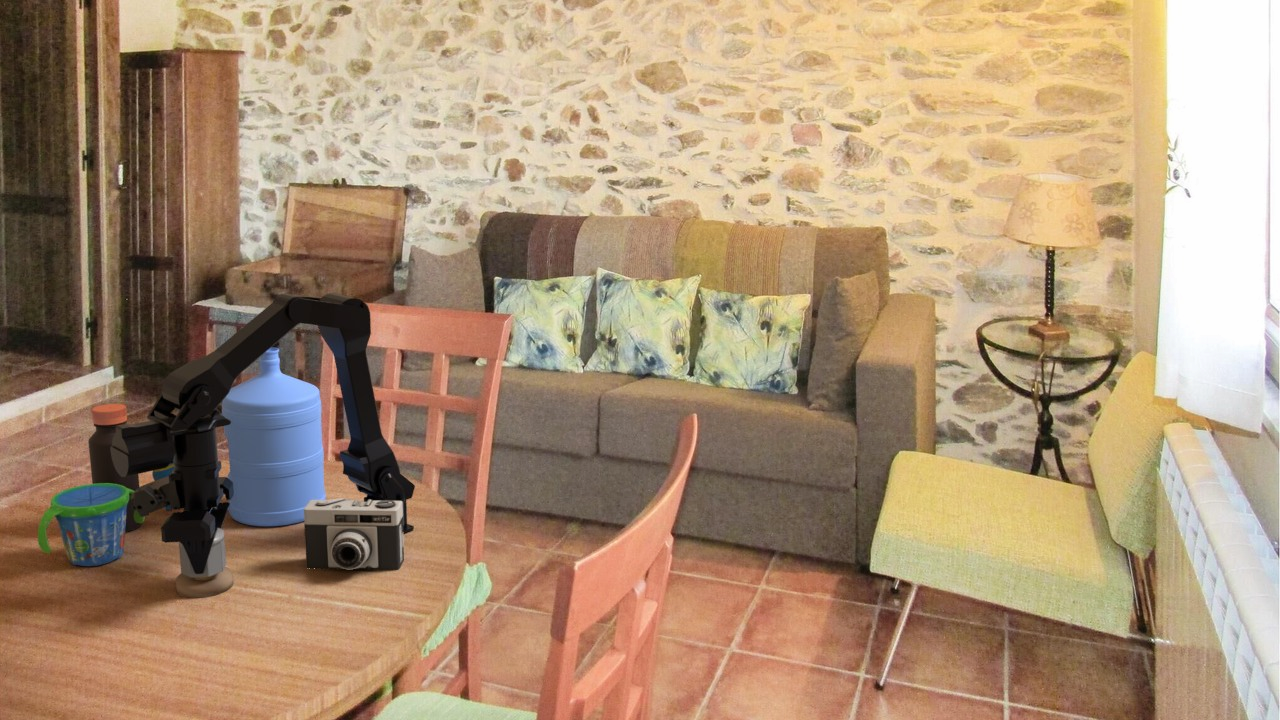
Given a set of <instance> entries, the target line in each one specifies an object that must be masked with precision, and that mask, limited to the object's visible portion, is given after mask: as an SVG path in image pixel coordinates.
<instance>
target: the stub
mask: <svg viewBox="0 0 1280 720" xmlns="http://www.w3.org/2000/svg"><path fill="white" fill-rule="evenodd" d="M233 586H234V572H233V569H231V568H229V567H227V566H225V568H224V570H223V572H220V573H217V574H214V575H212V576H209V577H193V578H191V577H189V576H186V575H184V574H181V573H179V574H178V575H177V576H176V578H175V589H176V593H177V594H178V595H180V596H182V597H184V598H190V599H191V598H193V599H197V598H198V599H199V598H208V597H213V596H217V595H220V594H223V593H225V592H227V591H228V590H230V589H231V588H232V587H233Z"/></svg>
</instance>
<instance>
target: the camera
mask: <svg viewBox="0 0 1280 720" xmlns="http://www.w3.org/2000/svg"><path fill="white" fill-rule="evenodd" d="M303 522H304V523H303V524H304V527H303V528H304V540H305V541H304V543H305V558H306V559H305V561H306V569H307V568H308V569H307V570H338V569H346V571H349V570H350V571H351V570H353V569H358V571H362V569H364V570H363V571H399V570H400V569H401V567H402V565H403V563H404V561H405V549H404V547H405V542H404V541H405V540H404V538H405V537H404V534H405V533H403V503H402V501H391V500H383V501H374V500H373V501H372V500H371V499H368V501H367V502H364V501H360V499H358V498H356V499H353V500H352V499H350V498H349V499H346V498H345V497H344V498H340V497H339V498H332V499H326V500H310V501H309V503H308V504H307V505H306V507H305V508H304V521H303ZM309 568H310V569H309ZM314 568H315V569H314ZM359 569H361V570H359ZM365 569H367V570H365Z"/></svg>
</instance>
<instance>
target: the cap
mask: <svg viewBox="0 0 1280 720" xmlns="http://www.w3.org/2000/svg"><path fill="white" fill-rule="evenodd" d="M225 542H226V541H225V531H224V529H222V528H221V529H220V528H218V530H217V533H216V536H215V539H214V542H213V545H212V548H211V551H210V554H209V558H208V561H207V564H206V567H205V570H204V573H203V574H195V572H194V570H193V568H192V565H191V563H190V560H189V558H188V555H187V553H186V551H185V549H184V547H183V545H182V544H181V543H180V542H178V551H179V563H180V565H179V566H180V574H184V575H186V576H189V577H191V578H193V577H209V576H212V575H214V574H217V573H220V572H223V570H224V568H225V567H227V555H226V554H227V553H226V544H225Z"/></svg>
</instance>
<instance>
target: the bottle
mask: <svg viewBox="0 0 1280 720" xmlns="http://www.w3.org/2000/svg"><path fill="white" fill-rule="evenodd" d="M91 415H92V424H93V427H95V431H94V433H92V435H91V436H90V437H89V439H88V443H87V444H88V452H89V453H88V454H89V462H90V471H91V484H98V483H111V484H118V485H122V486H124V487H126V488H128V489H131V490H133V491H135V490H136V489H137V488H139V487H140V479H139V474H135V475H131V476H126V477H121V476H120V475H119V474H118V472H117V471H116V469H115V467H114V464H113V461H112V457H111V446H112V441H113V438H114V436H115V435H116V426H118V425H123V424H128V415H127V406H126V405H125V404H123V403H122V404H120V403H107V404H100V405H97V406H94V407H93V408H92V409H91ZM131 495H132V494H130V493H129V501H128V503H127V508H126V526H125V533H128V532H131V531H135V530H137V529H138V528H140V527H141V526H142V525H143V523H137V522H135V520H134V510H132V509H131V506H132V502H131V500H130V499H131V498H130V497H131Z"/></svg>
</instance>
